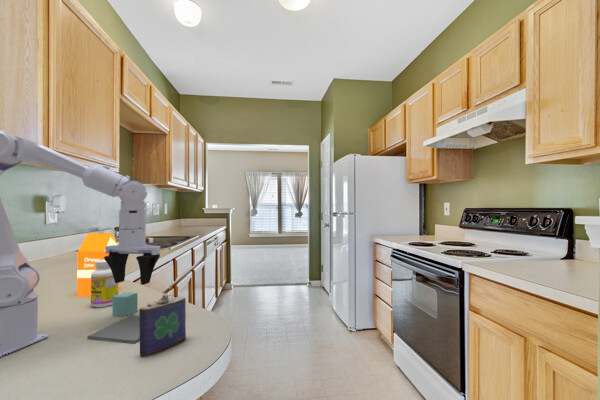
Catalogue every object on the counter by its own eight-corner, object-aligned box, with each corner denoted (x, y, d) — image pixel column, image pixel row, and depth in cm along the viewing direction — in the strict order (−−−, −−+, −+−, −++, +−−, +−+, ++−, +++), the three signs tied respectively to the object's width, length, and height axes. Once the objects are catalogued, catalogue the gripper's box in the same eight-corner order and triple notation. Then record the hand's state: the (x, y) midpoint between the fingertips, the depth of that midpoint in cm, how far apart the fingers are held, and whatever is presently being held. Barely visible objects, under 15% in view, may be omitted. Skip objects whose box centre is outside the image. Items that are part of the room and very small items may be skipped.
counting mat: (134, 343, 57) (134, 340, 57) (87, 338, 60) (87, 335, 60) (172, 320, 69) (172, 318, 69) (131, 317, 72) (131, 314, 72)
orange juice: (103, 296, 89) (104, 234, 90) (76, 296, 89) (77, 234, 90) (119, 289, 97) (120, 232, 98) (95, 289, 97) (95, 232, 98)
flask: (181, 336, 61) (181, 286, 61) (189, 340, 59) (189, 289, 59) (136, 355, 53) (136, 298, 53) (144, 359, 51) (144, 301, 52)
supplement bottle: (86, 306, 80) (86, 261, 81) (110, 299, 86) (110, 257, 87) (98, 309, 77) (98, 263, 78) (123, 302, 83) (123, 259, 84)
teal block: (125, 316, 72) (125, 297, 72) (112, 315, 73) (112, 296, 73) (137, 311, 76) (137, 292, 76) (125, 310, 77) (125, 292, 77)
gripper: (168, 227, 72) (168, 279, 72) (121, 227, 75) (121, 277, 75) (148, 229, 65) (148, 287, 65) (97, 229, 68) (97, 284, 68)
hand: (132, 282), depth 70 cm, fingers open, 7 cm apart
